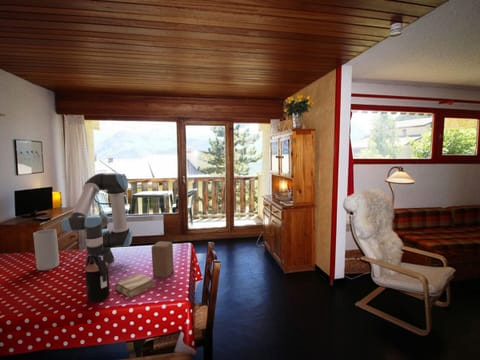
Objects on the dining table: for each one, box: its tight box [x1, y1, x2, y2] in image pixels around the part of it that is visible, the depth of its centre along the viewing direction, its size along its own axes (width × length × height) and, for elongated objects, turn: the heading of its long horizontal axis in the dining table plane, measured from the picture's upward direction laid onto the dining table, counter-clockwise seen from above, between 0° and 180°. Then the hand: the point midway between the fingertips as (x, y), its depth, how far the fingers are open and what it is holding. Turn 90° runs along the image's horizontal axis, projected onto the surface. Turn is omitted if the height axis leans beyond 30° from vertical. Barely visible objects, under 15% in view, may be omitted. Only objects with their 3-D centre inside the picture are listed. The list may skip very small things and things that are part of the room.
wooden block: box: [151, 240, 175, 279], centre depth 161 cm, size 10×10×20 cm
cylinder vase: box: [32, 228, 60, 271], centre depth 174 cm, size 12×12×25 cm
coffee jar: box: [84, 262, 111, 304], centre depth 135 cm, size 11×11×18 cm
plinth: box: [115, 272, 155, 298], centre depth 146 cm, size 15×15×4 cm
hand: (97, 283), depth 135 cm, fingers open, 13 cm apart
